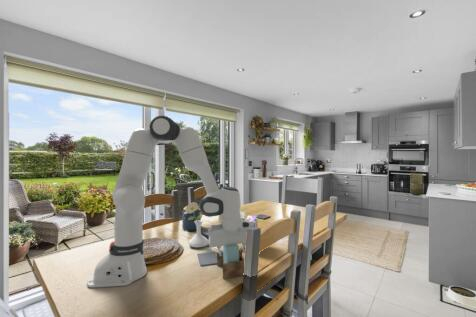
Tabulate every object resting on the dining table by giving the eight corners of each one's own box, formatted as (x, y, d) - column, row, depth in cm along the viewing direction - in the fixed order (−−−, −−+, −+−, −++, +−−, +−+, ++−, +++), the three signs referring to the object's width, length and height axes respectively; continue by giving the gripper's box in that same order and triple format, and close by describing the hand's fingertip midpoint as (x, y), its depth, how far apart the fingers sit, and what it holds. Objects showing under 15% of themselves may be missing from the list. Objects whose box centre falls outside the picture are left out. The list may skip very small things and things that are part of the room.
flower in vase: (206, 240, 143) (206, 199, 143) (210, 247, 133) (210, 202, 132) (184, 243, 139) (184, 200, 139) (186, 251, 128) (186, 204, 128)
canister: (178, 228, 168) (178, 203, 168) (194, 224, 177) (194, 200, 176) (188, 232, 158) (188, 206, 158) (204, 228, 167) (204, 203, 167)
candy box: (254, 253, 125) (254, 222, 125) (243, 252, 126) (243, 221, 126) (258, 243, 138) (257, 215, 138) (247, 243, 140) (247, 214, 139)
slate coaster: (200, 266, 111) (200, 265, 111) (197, 254, 124) (197, 253, 124) (219, 263, 114) (219, 262, 114) (214, 252, 126) (214, 251, 126)
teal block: (227, 275, 102) (227, 247, 102) (223, 266, 111) (223, 240, 111) (239, 274, 104) (238, 246, 103) (233, 264, 112) (233, 239, 112)
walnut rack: (223, 279, 100) (223, 264, 100) (217, 265, 112) (216, 252, 112) (250, 274, 103) (250, 260, 103) (241, 261, 116) (241, 249, 115)
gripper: (209, 227, 101) (209, 260, 102) (254, 222, 107) (255, 253, 108) (206, 223, 107) (207, 254, 108) (249, 218, 113) (250, 247, 114)
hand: (231, 253), depth 108 cm, fingers open, 8 cm apart
